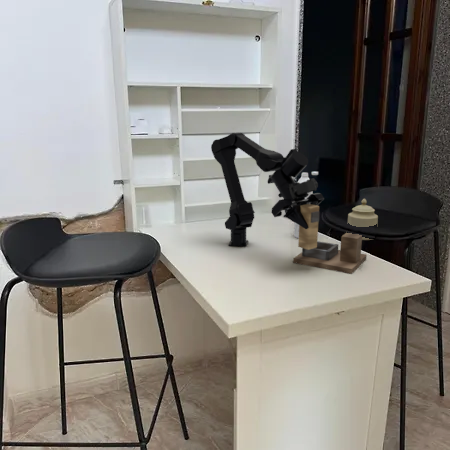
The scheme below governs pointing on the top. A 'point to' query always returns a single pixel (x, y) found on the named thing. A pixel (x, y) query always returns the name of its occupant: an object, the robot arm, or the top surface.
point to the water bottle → (303, 179)
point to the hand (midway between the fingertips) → (312, 227)
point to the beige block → (309, 235)
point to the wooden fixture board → (335, 254)
